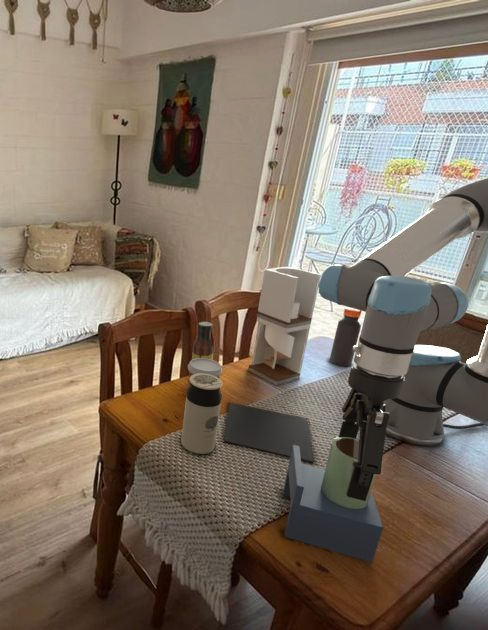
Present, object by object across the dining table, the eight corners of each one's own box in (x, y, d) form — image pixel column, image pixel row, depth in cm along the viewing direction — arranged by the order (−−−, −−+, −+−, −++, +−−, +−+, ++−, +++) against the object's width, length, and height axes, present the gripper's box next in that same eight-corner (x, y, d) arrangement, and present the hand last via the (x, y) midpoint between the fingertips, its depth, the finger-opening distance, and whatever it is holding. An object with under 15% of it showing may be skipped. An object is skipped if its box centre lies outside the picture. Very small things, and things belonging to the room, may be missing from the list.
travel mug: (175, 437, 112) (182, 374, 106) (203, 433, 113) (212, 371, 107) (190, 457, 104) (199, 390, 98) (220, 452, 106) (230, 386, 100)
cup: (363, 486, 84) (376, 442, 81) (372, 514, 77) (386, 467, 74) (318, 475, 87) (329, 432, 83) (323, 501, 80) (335, 455, 77)
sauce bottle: (212, 380, 141) (220, 323, 134) (207, 388, 136) (215, 329, 129) (192, 375, 144) (199, 318, 138) (186, 383, 139) (193, 324, 133)
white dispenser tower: (248, 370, 149) (264, 269, 137) (270, 364, 153) (288, 266, 141) (275, 385, 139) (296, 277, 127) (299, 378, 143) (321, 274, 131)
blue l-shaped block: (358, 511, 89) (373, 462, 85) (372, 562, 77) (389, 509, 73) (282, 491, 94) (292, 444, 90) (284, 537, 82) (296, 485, 78)
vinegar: (349, 360, 157) (363, 307, 150) (352, 368, 151) (366, 313, 144) (328, 357, 159) (340, 304, 153) (330, 364, 153) (342, 310, 147)
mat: (306, 419, 120) (306, 418, 120) (313, 463, 103) (313, 461, 103) (229, 403, 128) (229, 402, 127) (224, 441, 110) (224, 440, 110)
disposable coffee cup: (213, 394, 133) (218, 358, 129) (220, 410, 124) (226, 372, 120) (181, 392, 134) (185, 356, 130) (186, 408, 125) (191, 371, 121)
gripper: (341, 339, 86) (318, 432, 93) (367, 398, 64) (335, 513, 71) (387, 346, 83) (359, 441, 90) (430, 409, 61) (390, 528, 68)
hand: (349, 473), depth 80 cm, fingers open, 13 cm apart
